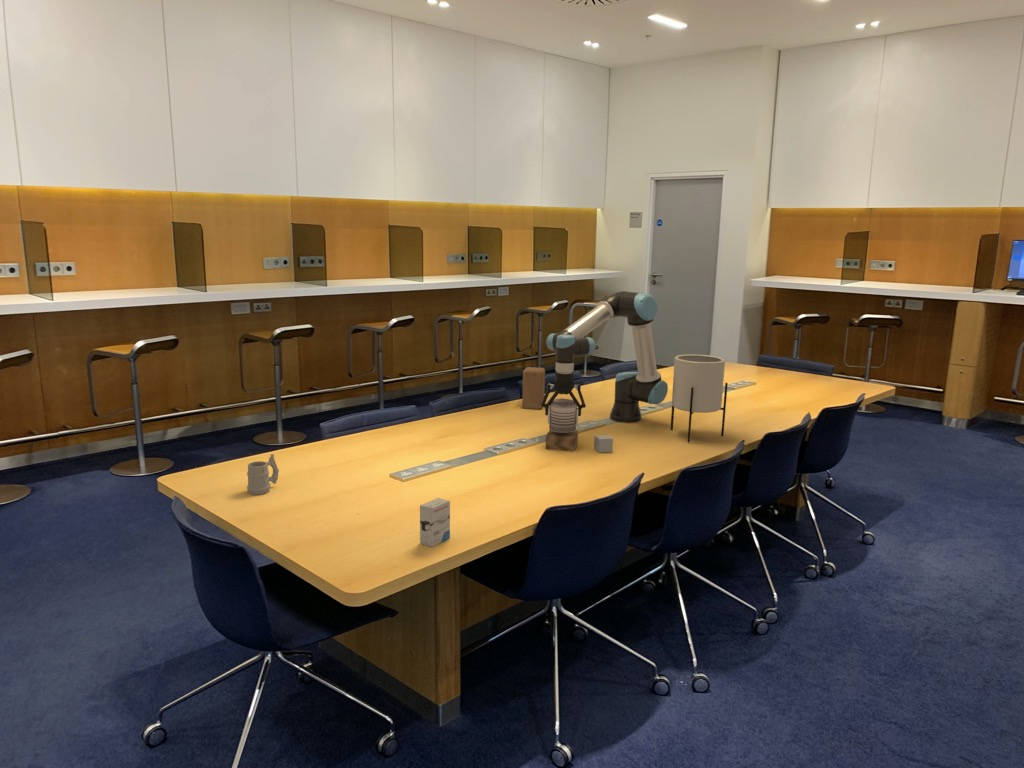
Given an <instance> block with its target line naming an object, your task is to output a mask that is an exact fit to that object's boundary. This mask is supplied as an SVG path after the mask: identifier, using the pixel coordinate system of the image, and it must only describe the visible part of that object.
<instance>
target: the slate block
mask: <svg viewBox="0 0 1024 768" xmlns="http://www.w3.org/2000/svg"><path fill="white" fill-rule="evenodd" d="M593 439H594V440H593V441H594V442H593V450H594V449H595V450H594V451H596V452H597V453H598V454H605V453H606V452H610V453H613V450H614V449H613V448H614V446H613V445H614V438H613V437H612V436H610V434H598V435H597V434H595V435H594V438H593Z"/></svg>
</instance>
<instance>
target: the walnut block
mask: <svg viewBox="0 0 1024 768" xmlns="http://www.w3.org/2000/svg"><path fill="white" fill-rule="evenodd" d="M578 441H579V430H577V429H576V430H575V431H574V432H569V433H558V432H554V431H551V430H550V429H549V430H548V432H547V433H546V435H545V449H546V450H552V451H553V450H554V451H555V450H556V451H567V452H575V450H576V447H577V446H578Z"/></svg>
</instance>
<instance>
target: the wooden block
mask: <svg viewBox="0 0 1024 768" xmlns="http://www.w3.org/2000/svg"><path fill="white" fill-rule="evenodd" d="M545 385H546V369H545V368H544V367H531V366H527V367H526V368H525V369H523V371H522V396H521V397H522V399H521V400H522V401H521V407H522V408H523V409H526V410H527V409H528V410H541V409H542V408H543V407H542V406H541V403H542V401H543V398H544V396H545V392H546V391H545V388H546V387H545Z"/></svg>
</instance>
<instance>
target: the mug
mask: <svg viewBox="0 0 1024 768" xmlns="http://www.w3.org/2000/svg"><path fill="white" fill-rule="evenodd" d="M274 456H275V454H274V453H271V454H270V457H269V458H268V461H262V460H261V461H253V462H249V463H247V473H246V475H247V486H246V490H247V492H248V494H249V495H252V496H257V495H259V496H260V495H265V494H268V493H269V492H270V491H271V484H270V482H271V483H272V484H274V485H275V484H277V481H278V480H279V468H278V465H277V463H276V460H275V457H274ZM269 466H270V467H271V468H272V475H271V476H269V474H270V471H269Z"/></svg>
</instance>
